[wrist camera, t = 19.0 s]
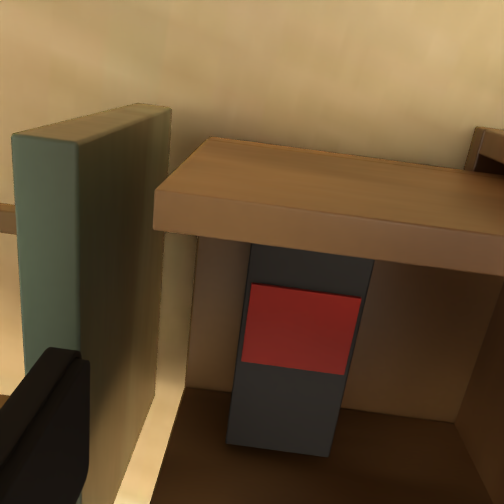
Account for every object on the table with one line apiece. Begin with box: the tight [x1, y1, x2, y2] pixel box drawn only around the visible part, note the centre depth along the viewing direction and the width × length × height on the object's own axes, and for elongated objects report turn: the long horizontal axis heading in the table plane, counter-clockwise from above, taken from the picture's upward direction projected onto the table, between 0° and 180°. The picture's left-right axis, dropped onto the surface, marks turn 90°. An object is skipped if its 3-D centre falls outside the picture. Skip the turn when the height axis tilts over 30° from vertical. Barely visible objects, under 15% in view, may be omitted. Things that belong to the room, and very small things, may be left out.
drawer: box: [0, 103, 504, 504], centre depth 14 cm, size 19×11×8 cm, turn 83°
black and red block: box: [225, 243, 375, 457], centre depth 15 cm, size 7×3×4 cm, turn 173°
